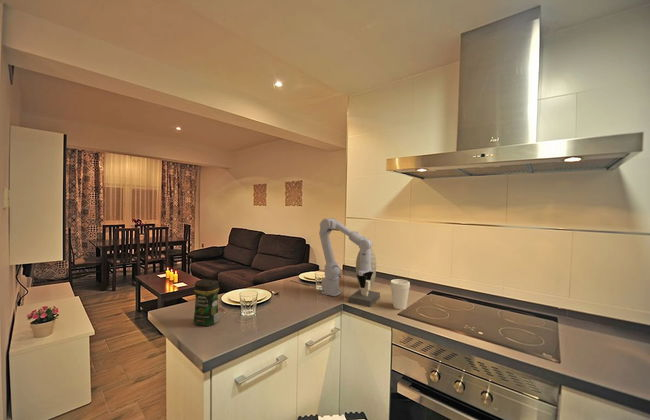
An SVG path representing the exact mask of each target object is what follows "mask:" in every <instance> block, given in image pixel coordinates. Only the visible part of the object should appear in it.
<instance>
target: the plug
mask: <svg viewBox="0 0 650 420" xmlns="http://www.w3.org/2000/svg"><path fill="white" fill-rule="evenodd" d="M359 289H361V295H363V296H368V290H369V291H371V288H370V280H366V283H365V288H361V287H360V286H359Z"/></svg>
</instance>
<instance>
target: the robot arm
mask: <svg viewBox="0 0 650 420" xmlns="http://www.w3.org/2000/svg"><path fill="white" fill-rule="evenodd" d="M334 230H338V231H340V232H341V233H343V234H344V235H346V236H347V237H348V240H349V241H351V242H353V244H355V245H356V246H358V248H359V251H360V270H359V274H357V276H356V278H357V277H358V280H359V283H360V285H359V288H360V287H361V288H365V283H366V280H371V276H372V274H373V270H372V267H371V249H372V248H373V242H372V240H371V239H370V238H366V236H363V235H361V234H360V232H359V231H356V230H353V231H352V230H351V229H349V228H348V227H346V225H344V224H343V223H342V222H340V221H339V220H338V219H336V218H334V217H331V218H323V219H321V221H320V223H319V232H318V233H319V234H318V235H319V239H320V244H321V247H322V251H323V255H324V259H325V265H324V276H325V277H324V278H323V279H322V281H321V294H323V295H326V296H332V297H337V296H339V295H340V294H342V291H340V275H341V273H342V269H341V268H340V266H339V264H338V262H337V261H336V260H335V255H334V251H333V247H332V242H331V238H330V234H331V232H332V231H334ZM370 248H371V249H370ZM358 280H357V281H358ZM359 283H358V284H359Z"/></svg>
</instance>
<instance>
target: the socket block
mask: <svg viewBox="0 0 650 420" xmlns="http://www.w3.org/2000/svg"><path fill="white" fill-rule="evenodd" d="M380 298H381V292H378V291H373V290H368V296H363V295H361V289H360V288H359V289H358V290H357V291H355V292H354V293H352V294H350V295H349V296H348V303H350V304H353V305H354V304H355V305H359V306H363V307H368V308H371V307H372V306H373V305H374V304H375V303H376V302H377V301H378V300H380Z"/></svg>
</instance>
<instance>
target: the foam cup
mask: <svg viewBox="0 0 650 420" xmlns="http://www.w3.org/2000/svg"><path fill="white" fill-rule="evenodd" d="M410 283H411V282H410V281H408V280H407V279H399V278H397V279H391V280H390V290H391V297H392V299H391V300H392V307H393V308H394V309H396V310H406V309H407V305H408V298H409V292H410V288H411V284H410Z"/></svg>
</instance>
